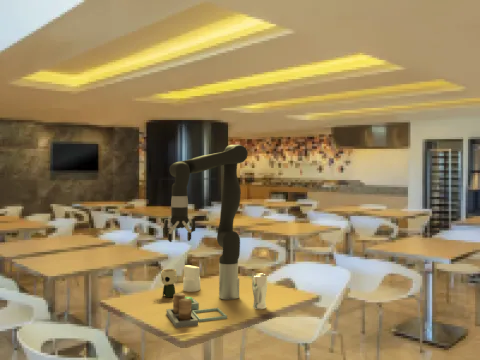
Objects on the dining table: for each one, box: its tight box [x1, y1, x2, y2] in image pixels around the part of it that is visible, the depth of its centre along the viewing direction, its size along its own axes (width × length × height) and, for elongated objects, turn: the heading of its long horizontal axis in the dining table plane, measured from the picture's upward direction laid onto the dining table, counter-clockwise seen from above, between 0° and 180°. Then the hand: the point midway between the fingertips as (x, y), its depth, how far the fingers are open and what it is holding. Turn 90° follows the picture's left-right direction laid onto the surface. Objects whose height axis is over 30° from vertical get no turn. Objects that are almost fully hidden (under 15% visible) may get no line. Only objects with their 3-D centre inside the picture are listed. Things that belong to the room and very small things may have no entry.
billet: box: [179, 299, 192, 321], centre depth 185 cm, size 5×5×9 cm
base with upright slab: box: [182, 264, 201, 293], centre depth 240 cm, size 9×9×12 cm
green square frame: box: [191, 307, 228, 323], centre depth 194 cm, size 12×12×2 cm
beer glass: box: [251, 272, 268, 310], centre depth 209 cm, size 7×7×15 cm
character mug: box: [160, 268, 178, 298], centre depth 226 cm, size 11×7×13 cm, turn 54°
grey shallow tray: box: [165, 308, 199, 329], centre depth 189 cm, size 18×9×3 cm, turn 21°
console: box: [191, 297, 200, 312], centre depth 204 cm, size 8×8×4 cm
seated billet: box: [172, 292, 186, 314], centre depth 194 cm, size 5×5×9 cm
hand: (179, 241), depth 209 cm, fingers open, 8 cm apart
